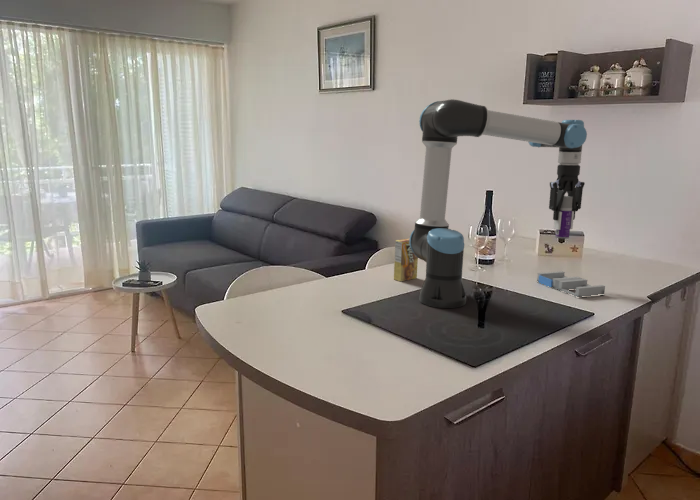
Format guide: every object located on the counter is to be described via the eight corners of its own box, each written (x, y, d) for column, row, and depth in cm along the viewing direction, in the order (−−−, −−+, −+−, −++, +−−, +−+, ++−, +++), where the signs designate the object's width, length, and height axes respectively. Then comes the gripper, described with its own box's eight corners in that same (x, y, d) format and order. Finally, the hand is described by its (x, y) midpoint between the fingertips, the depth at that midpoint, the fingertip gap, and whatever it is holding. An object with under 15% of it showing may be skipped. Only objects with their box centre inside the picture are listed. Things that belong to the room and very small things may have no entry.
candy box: (409, 276, 208) (411, 237, 205) (417, 278, 205) (419, 239, 202) (393, 279, 202) (394, 240, 199) (401, 282, 199) (402, 241, 196)
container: (566, 239, 192) (570, 197, 189) (553, 237, 195) (557, 196, 192) (570, 237, 196) (574, 196, 193) (557, 235, 199) (561, 195, 196)
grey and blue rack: (576, 298, 181) (577, 288, 181) (535, 282, 202) (536, 273, 201) (604, 295, 185) (605, 286, 184) (561, 280, 205) (561, 271, 205)
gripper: (555, 164, 184) (549, 231, 189) (596, 164, 189) (590, 229, 194) (541, 163, 191) (535, 228, 196) (581, 163, 196) (575, 226, 201)
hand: (562, 228), depth 195 cm, fingers closed on container, 5 cm apart
